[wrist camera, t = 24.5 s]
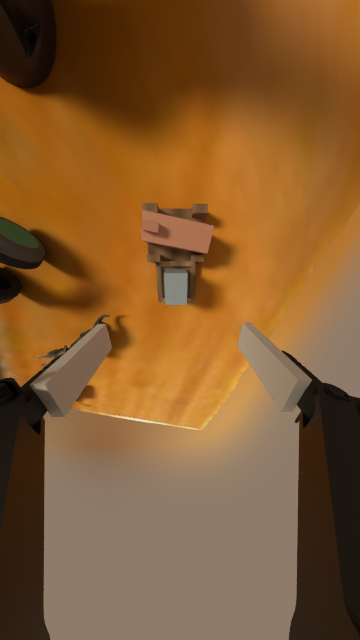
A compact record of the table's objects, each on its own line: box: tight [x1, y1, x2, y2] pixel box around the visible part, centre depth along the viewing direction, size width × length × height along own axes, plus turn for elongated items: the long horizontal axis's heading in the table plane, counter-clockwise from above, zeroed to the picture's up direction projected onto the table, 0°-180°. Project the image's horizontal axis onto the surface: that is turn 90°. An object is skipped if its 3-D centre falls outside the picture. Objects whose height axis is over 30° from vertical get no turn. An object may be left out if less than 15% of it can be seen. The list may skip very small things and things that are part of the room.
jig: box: [142, 203, 208, 302], centre depth 35 cm, size 14×22×4 cm, turn 0°
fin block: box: [164, 269, 188, 305], centre depth 34 cm, size 5×7×9 cm
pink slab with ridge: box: [141, 210, 214, 254], centre depth 29 cm, size 14×5×9 cm, turn 80°
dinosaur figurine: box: [38, 315, 110, 366], centre depth 41 cm, size 22×8×11 cm, turn 120°
